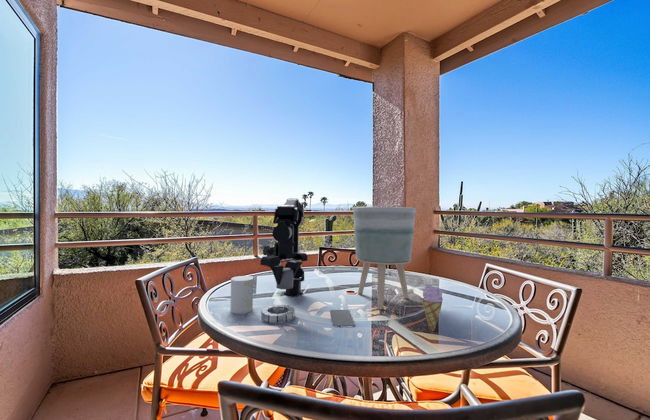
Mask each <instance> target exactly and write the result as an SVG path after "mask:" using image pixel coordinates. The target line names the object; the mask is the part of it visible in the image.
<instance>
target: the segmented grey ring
mask: <svg viewBox="0 0 650 420" xmlns="http://www.w3.org/2000/svg"><path fill="white" fill-rule="evenodd" d="M260 312H261V313H260V314H261V317H260V318H261V320H262V321H263V322H266V323H268V324H284V323H288V322H292V321H293V319H294V318H295V317H296V316H295V315H296V311H295V308H294V307H293V306H291V305H286V304H272V305H268V306H265V307H263V308H262V309H261V311H260Z"/></svg>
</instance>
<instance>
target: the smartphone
mask: <svg viewBox="0 0 650 420" xmlns="http://www.w3.org/2000/svg"><path fill="white" fill-rule="evenodd" d="M329 314H330V318H331V323H333V324H332V327H333V326H337V327H336V328H342V327H341V326H353V327H352V328H355V327H356V323H355V321H354V318H353V316H352V313H351V311H350V310H349V309H330V310H329ZM338 326H339V327H338ZM354 326H355V327H354Z"/></svg>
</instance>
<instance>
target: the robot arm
mask: <svg viewBox="0 0 650 420" xmlns="http://www.w3.org/2000/svg"><path fill="white" fill-rule="evenodd" d="M304 208H305V207H304V205H303V204H302V203H301V202H300V201H299V198H296V197H295V198H292V197H291V198H290V197H288V198H286V201H285V203H284V204H278V205H277V207H276V208H275V210H274V215H273V221H272V224H274V225H275V224H277V225H276V226H275V227H274V228H273V231H272V237H273V239H274V240H275V242H274V246H270V245H264V246H263V247H262V254H263V256H262V257H261V258H260V265H261V266H265V267H268V268H269V269H270V270H271V271H272V274H273V277H274V279H275V283H276V285H277V284H278V285H279V284H280V282H281V277H282V272H283V269H285V268H291V269H292V270H294V273H293V288H291V289H285V292H283V294H284V295H287V296H290V297H297V296H299V295H303V294H304V292H303V291H301V290H302V289H301V288H302V285H301V284H302V282H304V281H305V270H304V268H303V267H302V265H303V262H306V261H308V254H307V253H306V252H299V246H300V245H299V242H300V240H299V237H300V233H299V232H300V225H301V224H302V223H303V218H304V216H305V209H304ZM284 262H286V263H285V265H282V263H284Z"/></svg>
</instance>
